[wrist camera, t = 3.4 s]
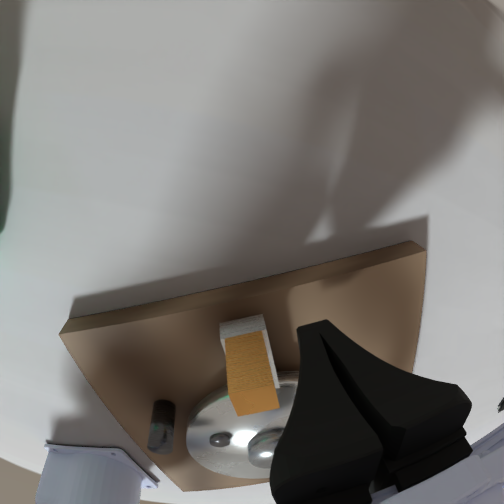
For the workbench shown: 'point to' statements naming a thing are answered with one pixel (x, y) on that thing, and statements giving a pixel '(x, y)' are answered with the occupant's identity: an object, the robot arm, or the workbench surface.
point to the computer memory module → (501, 406)
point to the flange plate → (243, 406)
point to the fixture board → (211, 350)
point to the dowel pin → (162, 427)
